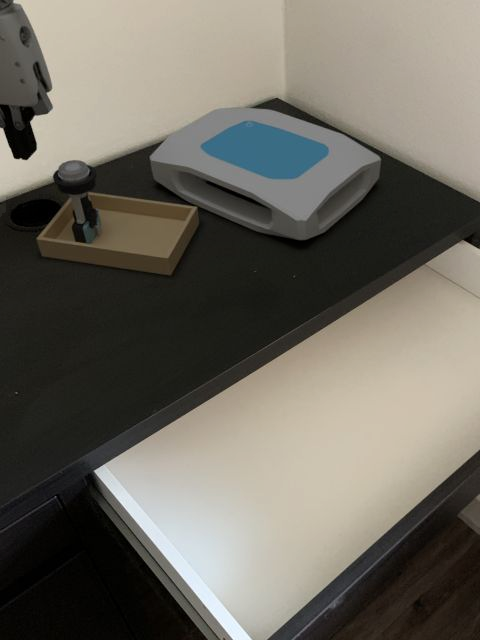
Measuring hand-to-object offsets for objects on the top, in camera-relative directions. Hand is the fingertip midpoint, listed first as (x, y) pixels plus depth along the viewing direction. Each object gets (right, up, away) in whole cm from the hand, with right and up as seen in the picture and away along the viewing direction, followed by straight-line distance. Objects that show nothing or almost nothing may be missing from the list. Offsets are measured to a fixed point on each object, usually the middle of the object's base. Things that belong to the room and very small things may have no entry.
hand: (26, 154), depth 85 cm
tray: (+11, -9, +7) cm, 16 cm away
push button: (+6, -8, +7) cm, 13 cm away
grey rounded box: (+30, +1, +17) cm, 34 cm away
